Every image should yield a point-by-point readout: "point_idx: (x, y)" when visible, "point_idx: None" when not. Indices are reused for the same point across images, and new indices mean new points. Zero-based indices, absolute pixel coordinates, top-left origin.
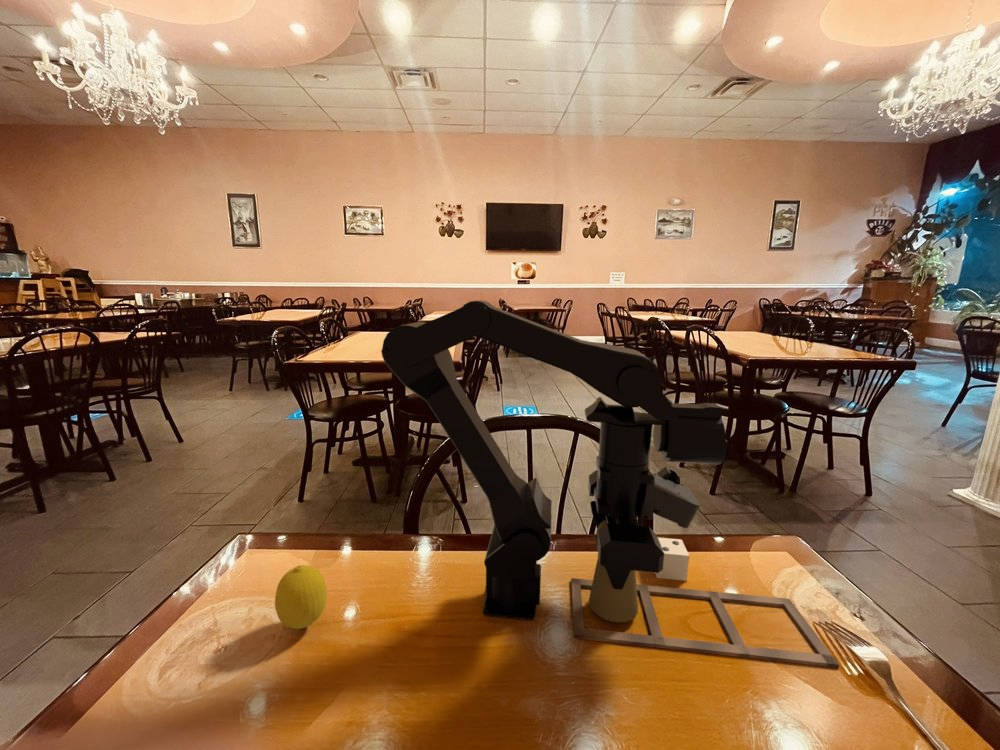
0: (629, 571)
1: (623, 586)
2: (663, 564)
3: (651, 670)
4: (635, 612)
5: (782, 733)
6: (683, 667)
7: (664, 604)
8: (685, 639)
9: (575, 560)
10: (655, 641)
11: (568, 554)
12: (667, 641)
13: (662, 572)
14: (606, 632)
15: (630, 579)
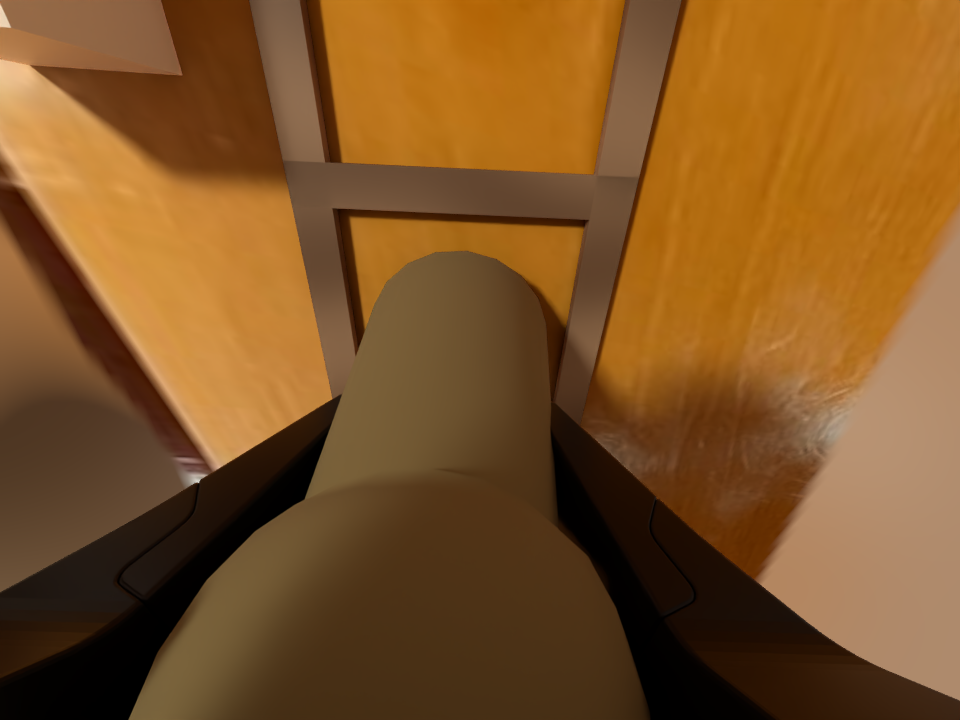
0: (651, 497)
1: (564, 411)
2: (89, 9)
3: (712, 254)
4: (514, 277)
5: None
6: (727, 125)
7: (383, 96)
8: (620, 63)
9: (228, 408)
10: (617, 213)
11: (204, 425)
12: (622, 161)
13: (141, 30)
14: (569, 367)
15: (535, 388)
